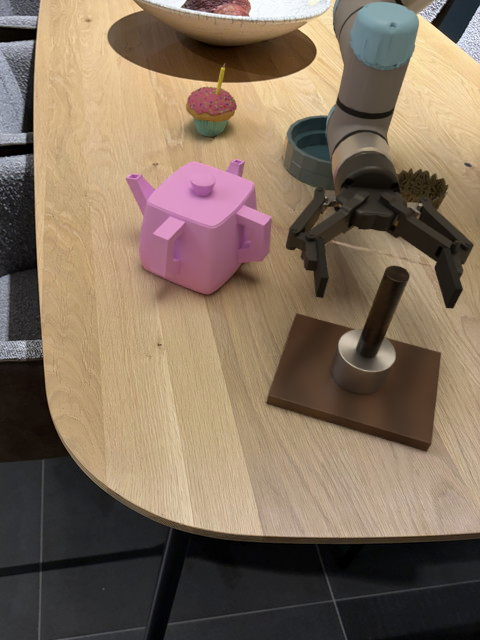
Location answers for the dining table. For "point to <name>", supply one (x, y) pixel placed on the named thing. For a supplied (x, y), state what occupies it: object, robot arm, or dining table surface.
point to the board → (350, 408)
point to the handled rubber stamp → (371, 340)
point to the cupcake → (211, 108)
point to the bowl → (309, 152)
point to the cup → (422, 187)
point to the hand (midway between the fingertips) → (388, 293)
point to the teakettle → (200, 225)
